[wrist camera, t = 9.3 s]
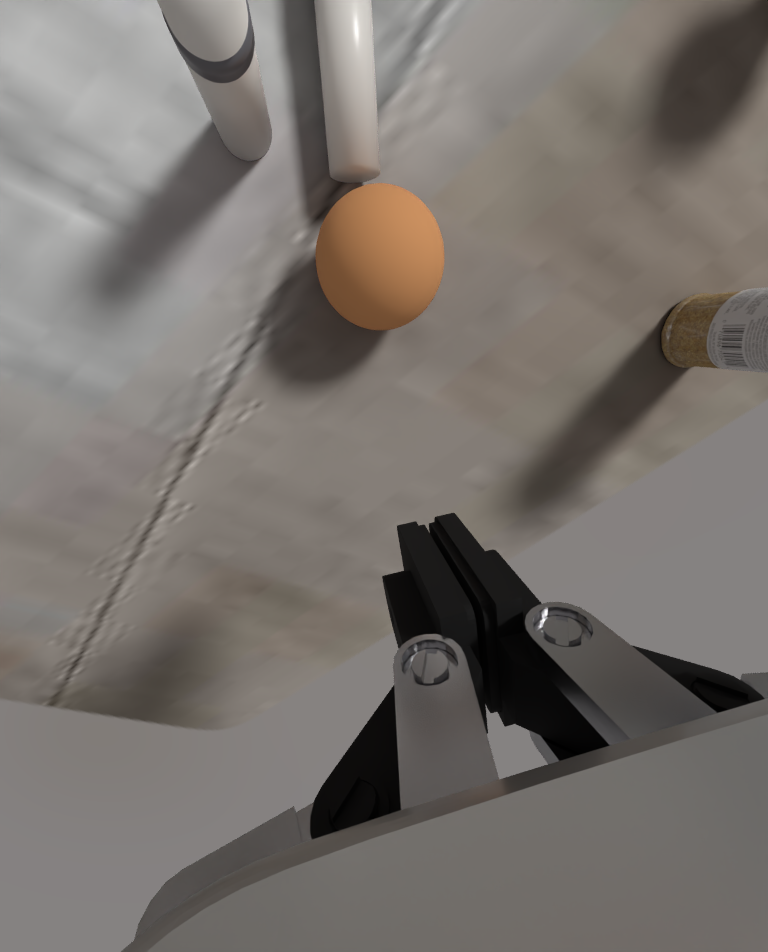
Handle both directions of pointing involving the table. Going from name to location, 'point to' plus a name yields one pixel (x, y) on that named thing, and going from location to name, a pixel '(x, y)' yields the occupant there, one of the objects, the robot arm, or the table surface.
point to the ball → (379, 256)
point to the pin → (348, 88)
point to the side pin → (224, 69)
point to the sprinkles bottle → (719, 331)
